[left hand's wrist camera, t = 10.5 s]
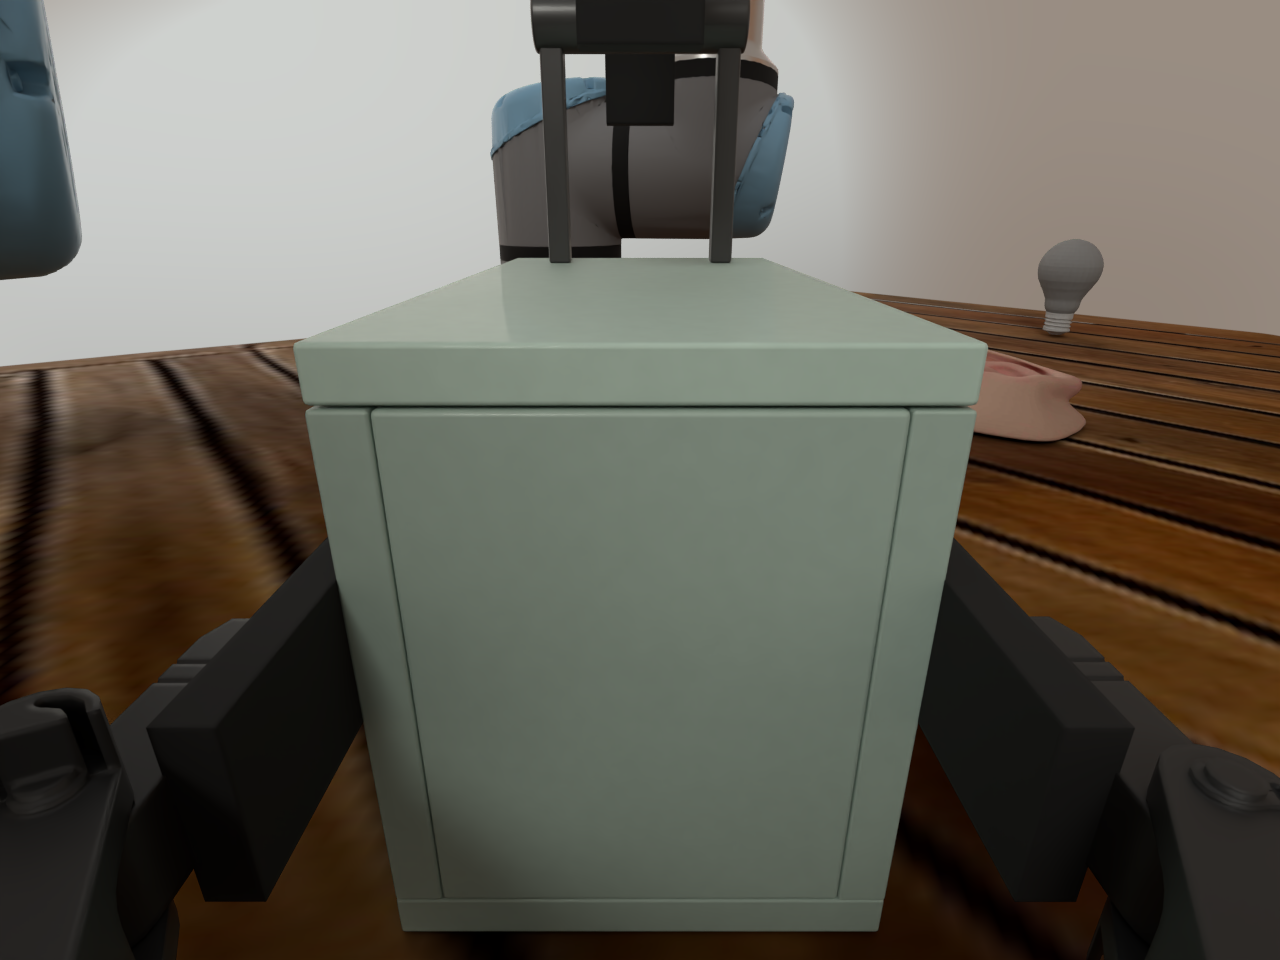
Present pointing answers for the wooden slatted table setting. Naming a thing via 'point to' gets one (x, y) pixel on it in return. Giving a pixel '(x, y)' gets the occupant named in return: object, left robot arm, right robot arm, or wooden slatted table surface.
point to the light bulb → (1067, 280)
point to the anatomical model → (1026, 401)
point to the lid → (640, 307)
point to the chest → (640, 653)
